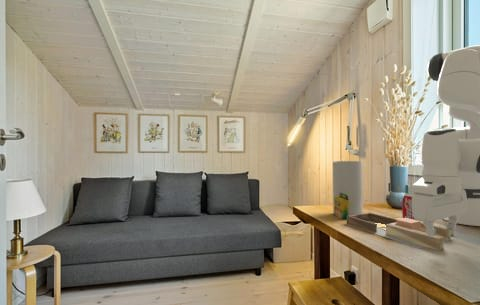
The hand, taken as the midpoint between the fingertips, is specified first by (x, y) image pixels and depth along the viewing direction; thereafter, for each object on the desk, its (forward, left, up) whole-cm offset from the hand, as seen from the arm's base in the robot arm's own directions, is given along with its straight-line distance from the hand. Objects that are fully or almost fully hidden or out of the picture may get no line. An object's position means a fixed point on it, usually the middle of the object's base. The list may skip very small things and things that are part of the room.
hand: (441, 232), depth 74 cm
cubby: (-2, -25, -5) cm, 26 cm away
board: (-5, -17, -6) cm, 19 cm away
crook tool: (-2, -8, -5) cm, 10 cm away
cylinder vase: (-10, -44, -7) cm, 46 cm away
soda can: (-22, -22, -7) cm, 32 cm away
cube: (-4, -12, -5) cm, 14 cm away
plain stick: (-11, -9, -5) cm, 15 cm away
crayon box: (-1, -39, -7) cm, 40 cm away
